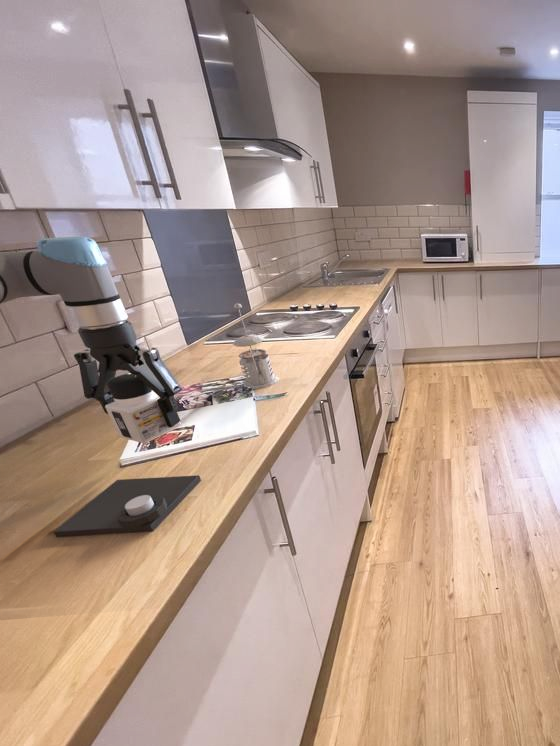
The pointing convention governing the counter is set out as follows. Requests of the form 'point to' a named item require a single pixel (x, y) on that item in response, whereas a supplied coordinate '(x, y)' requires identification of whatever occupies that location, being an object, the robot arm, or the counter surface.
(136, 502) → the button
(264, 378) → the french press
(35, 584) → the counter surface
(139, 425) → the container
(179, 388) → the robot arm
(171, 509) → the scale
